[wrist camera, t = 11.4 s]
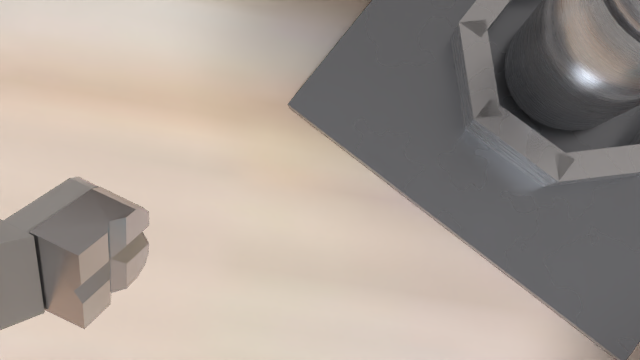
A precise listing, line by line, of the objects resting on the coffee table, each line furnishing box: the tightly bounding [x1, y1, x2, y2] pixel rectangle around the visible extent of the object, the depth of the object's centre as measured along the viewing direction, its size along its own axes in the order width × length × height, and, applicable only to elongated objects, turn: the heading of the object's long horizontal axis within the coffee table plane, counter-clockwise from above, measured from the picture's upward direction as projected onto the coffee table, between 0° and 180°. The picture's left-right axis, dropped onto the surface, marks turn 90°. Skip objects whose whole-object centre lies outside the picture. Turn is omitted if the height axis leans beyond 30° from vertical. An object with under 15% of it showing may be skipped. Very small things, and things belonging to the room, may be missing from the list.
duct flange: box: [288, 0, 640, 360], centre depth 21 cm, size 16×16×2 cm
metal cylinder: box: [505, 0, 640, 131], centre depth 17 cm, size 5×5×9 cm
